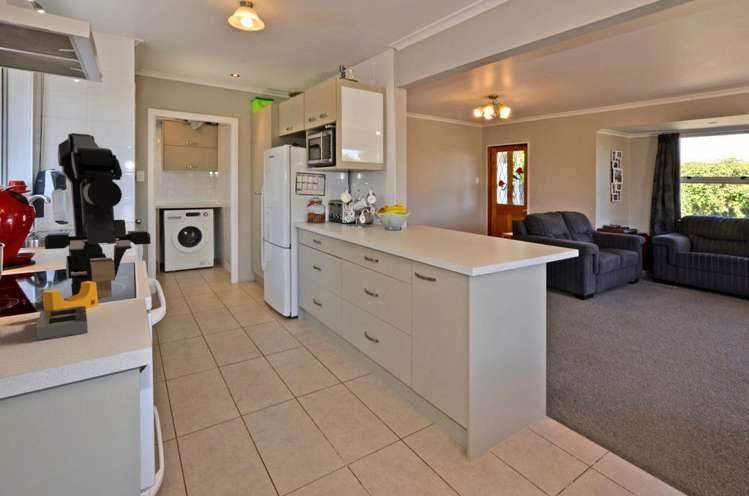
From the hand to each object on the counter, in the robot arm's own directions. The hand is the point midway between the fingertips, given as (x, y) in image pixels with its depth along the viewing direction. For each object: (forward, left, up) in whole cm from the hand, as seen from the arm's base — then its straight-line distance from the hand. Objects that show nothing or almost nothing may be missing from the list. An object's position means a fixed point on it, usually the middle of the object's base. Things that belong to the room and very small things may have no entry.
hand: (103, 278), depth 89 cm
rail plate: (+5, -5, -10) cm, 12 cm away
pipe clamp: (-5, -15, -10) cm, 19 cm away
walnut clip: (0, 0, -4) cm, 4 cm away
